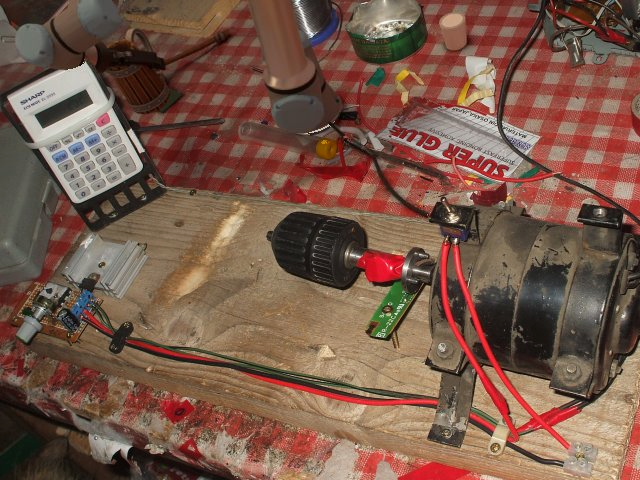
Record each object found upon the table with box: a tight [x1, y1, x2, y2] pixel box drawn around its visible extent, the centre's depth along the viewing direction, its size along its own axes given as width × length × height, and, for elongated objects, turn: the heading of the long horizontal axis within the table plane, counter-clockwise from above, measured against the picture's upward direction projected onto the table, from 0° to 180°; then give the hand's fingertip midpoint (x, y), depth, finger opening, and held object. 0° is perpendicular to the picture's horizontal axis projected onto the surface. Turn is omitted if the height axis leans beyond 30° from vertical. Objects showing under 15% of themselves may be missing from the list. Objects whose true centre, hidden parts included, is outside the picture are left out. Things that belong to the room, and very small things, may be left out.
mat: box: [158, 87, 184, 114], centre depth 184 cm, size 12×8×1 cm, turn 50°
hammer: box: [140, 28, 231, 86], centre depth 188 cm, size 7×33×10 cm, turn 130°
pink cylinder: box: [438, 11, 468, 51], centre depth 163 cm, size 7×7×7 cm
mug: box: [106, 27, 170, 115], centre depth 152 cm, size 16×11×15 cm
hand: (146, 67), depth 155 cm, fingers closed on mug, 9 cm apart
